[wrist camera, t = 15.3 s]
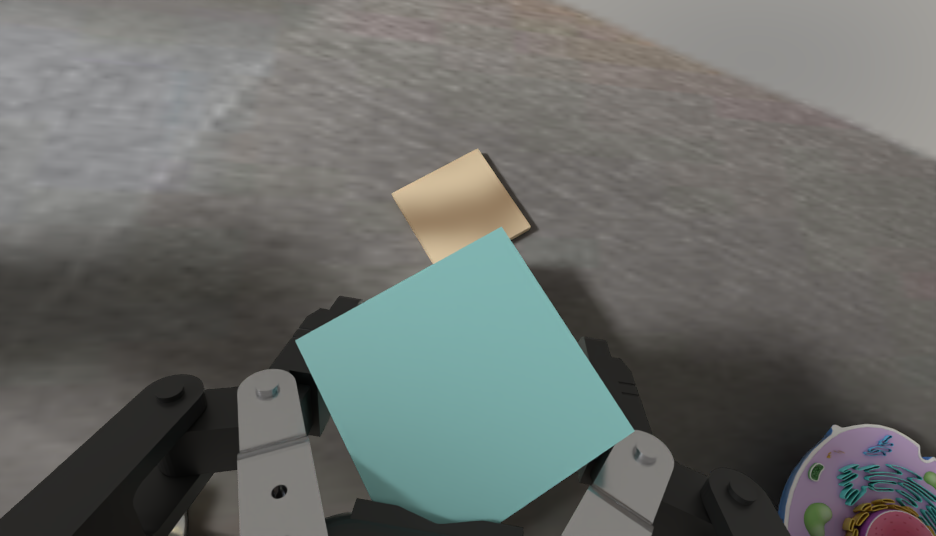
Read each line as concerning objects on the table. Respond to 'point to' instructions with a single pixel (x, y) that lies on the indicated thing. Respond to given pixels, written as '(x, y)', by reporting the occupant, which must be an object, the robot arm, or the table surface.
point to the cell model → (861, 486)
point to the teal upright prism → (462, 388)
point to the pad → (458, 206)
